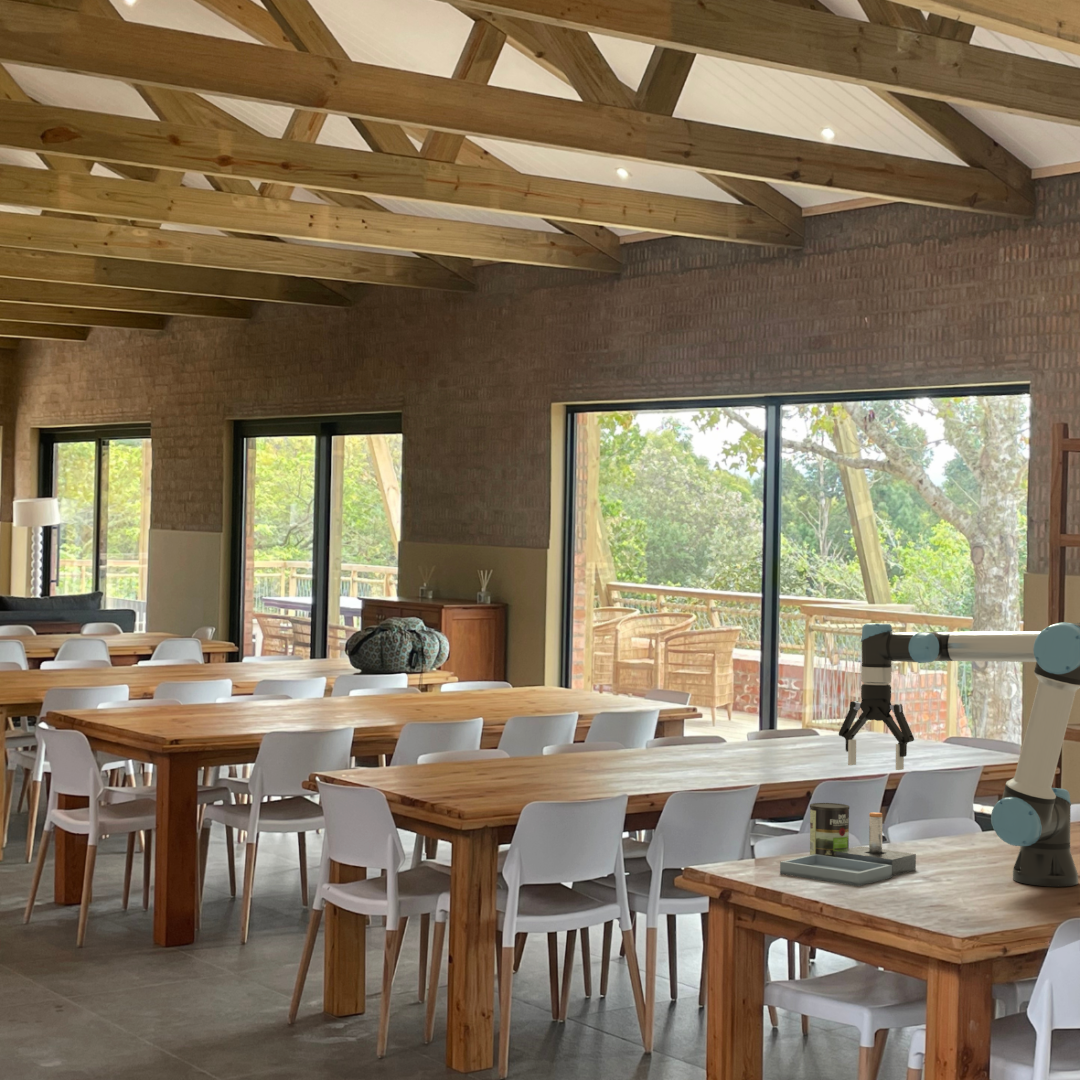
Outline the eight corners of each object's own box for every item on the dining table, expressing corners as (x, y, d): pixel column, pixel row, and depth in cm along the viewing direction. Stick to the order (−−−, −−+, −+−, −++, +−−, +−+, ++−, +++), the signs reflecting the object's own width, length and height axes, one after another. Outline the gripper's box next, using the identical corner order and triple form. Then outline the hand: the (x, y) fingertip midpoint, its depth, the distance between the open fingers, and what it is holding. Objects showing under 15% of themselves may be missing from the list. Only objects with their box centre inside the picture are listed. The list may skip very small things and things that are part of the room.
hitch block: (915, 869, 377) (915, 853, 378) (892, 875, 369) (892, 859, 369) (859, 861, 388) (860, 846, 388) (835, 867, 379) (835, 851, 379)
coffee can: (857, 860, 390) (857, 806, 391) (827, 863, 385) (827, 808, 386) (830, 854, 399) (831, 801, 400) (801, 857, 394) (801, 803, 394)
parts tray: (891, 877, 366) (891, 865, 367) (858, 886, 355) (858, 873, 355) (814, 865, 381) (814, 854, 381) (780, 873, 369) (780, 861, 369)
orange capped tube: (884, 868, 378) (884, 813, 379) (878, 870, 376) (878, 814, 377) (873, 867, 381) (873, 812, 381) (866, 868, 378) (867, 813, 379)
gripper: (927, 685, 375) (927, 770, 374) (841, 680, 391) (840, 761, 391) (913, 686, 369) (912, 772, 368) (826, 681, 386) (825, 763, 385)
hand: (875, 767), depth 380 cm, fingers open, 13 cm apart
